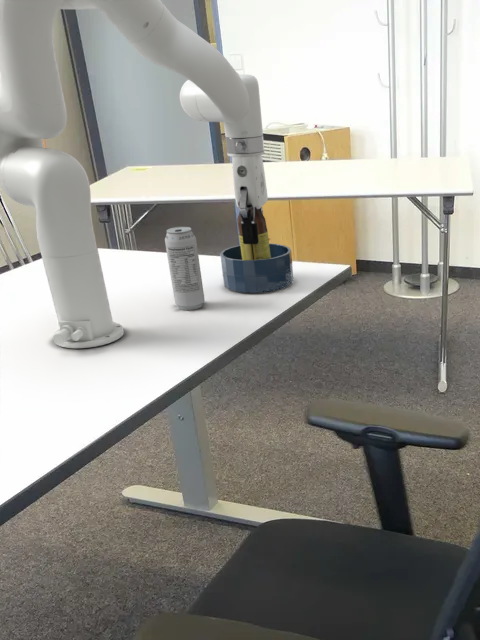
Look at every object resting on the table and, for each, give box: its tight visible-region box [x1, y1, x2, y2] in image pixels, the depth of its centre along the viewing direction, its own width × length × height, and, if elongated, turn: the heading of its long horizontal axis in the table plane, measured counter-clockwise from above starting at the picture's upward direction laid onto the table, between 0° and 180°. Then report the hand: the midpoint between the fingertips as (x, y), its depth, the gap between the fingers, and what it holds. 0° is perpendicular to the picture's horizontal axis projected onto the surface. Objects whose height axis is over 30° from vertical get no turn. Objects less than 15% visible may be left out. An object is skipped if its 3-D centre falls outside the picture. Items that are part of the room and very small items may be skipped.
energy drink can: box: [164, 226, 206, 311], centre depth 153 cm, size 6×6×15 cm
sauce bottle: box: [236, 205, 271, 260], centre depth 164 cm, size 6×6×20 cm
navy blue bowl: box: [219, 242, 294, 294], centre depth 167 cm, size 15×15×7 cm
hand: (254, 238), depth 164 cm, fingers closed on sauce bottle, 6 cm apart
